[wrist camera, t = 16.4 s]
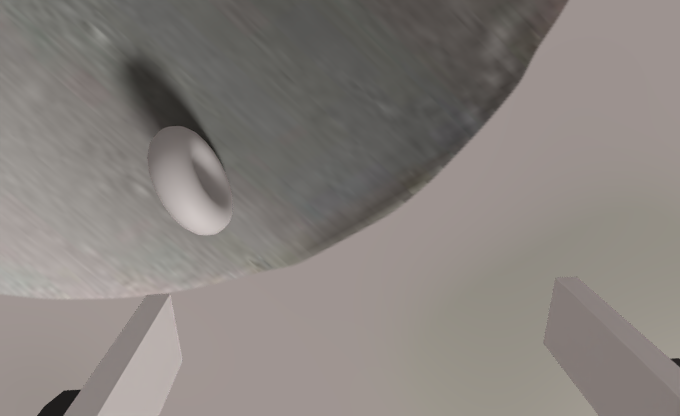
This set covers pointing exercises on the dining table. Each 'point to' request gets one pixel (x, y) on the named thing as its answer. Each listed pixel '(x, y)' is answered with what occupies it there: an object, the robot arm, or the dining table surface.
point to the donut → (190, 180)
